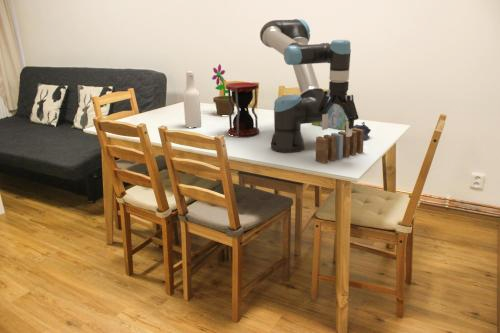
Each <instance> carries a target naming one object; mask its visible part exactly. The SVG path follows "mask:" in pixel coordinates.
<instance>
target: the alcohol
mask: <svg viewBox="0 0 500 333" xmlns="http://www.w3.org/2000/svg"><path fill="white" fill-rule="evenodd" d="M185 76H186V80H185V81H186V82H185V83H186V84H185V86H186V88H185V89H184V91H183V94H182V95H183V96H182V98H183V110H184V123H185V127H186V128H187V127H191V128H190V129H193V128H192V127H199V128H201V127H200V126H202V111H201V110H202V109H201V99H200V98H201V97H200V95H201V94H200V92H199V90H197V88H196V84H195V77H194V76H195V75H194V71H193V70H187V71H186V72H185Z"/></svg>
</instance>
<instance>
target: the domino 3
mask: <svg viewBox="0 0 500 333" xmlns="http://www.w3.org/2000/svg"><path fill="white" fill-rule="evenodd" d="M330 135H331V136H334V137H336V150H335V160H336V159H337V160H342V159H343V135H341V134H338V132H331V133H330Z"/></svg>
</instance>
